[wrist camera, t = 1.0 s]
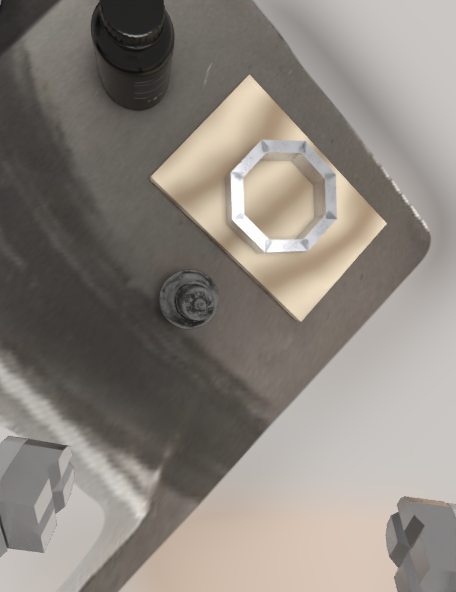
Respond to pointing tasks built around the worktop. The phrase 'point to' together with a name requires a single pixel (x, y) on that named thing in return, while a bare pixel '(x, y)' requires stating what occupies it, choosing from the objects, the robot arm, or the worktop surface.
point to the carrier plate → (266, 200)
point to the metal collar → (310, 168)
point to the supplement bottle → (133, 50)
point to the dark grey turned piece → (189, 299)
